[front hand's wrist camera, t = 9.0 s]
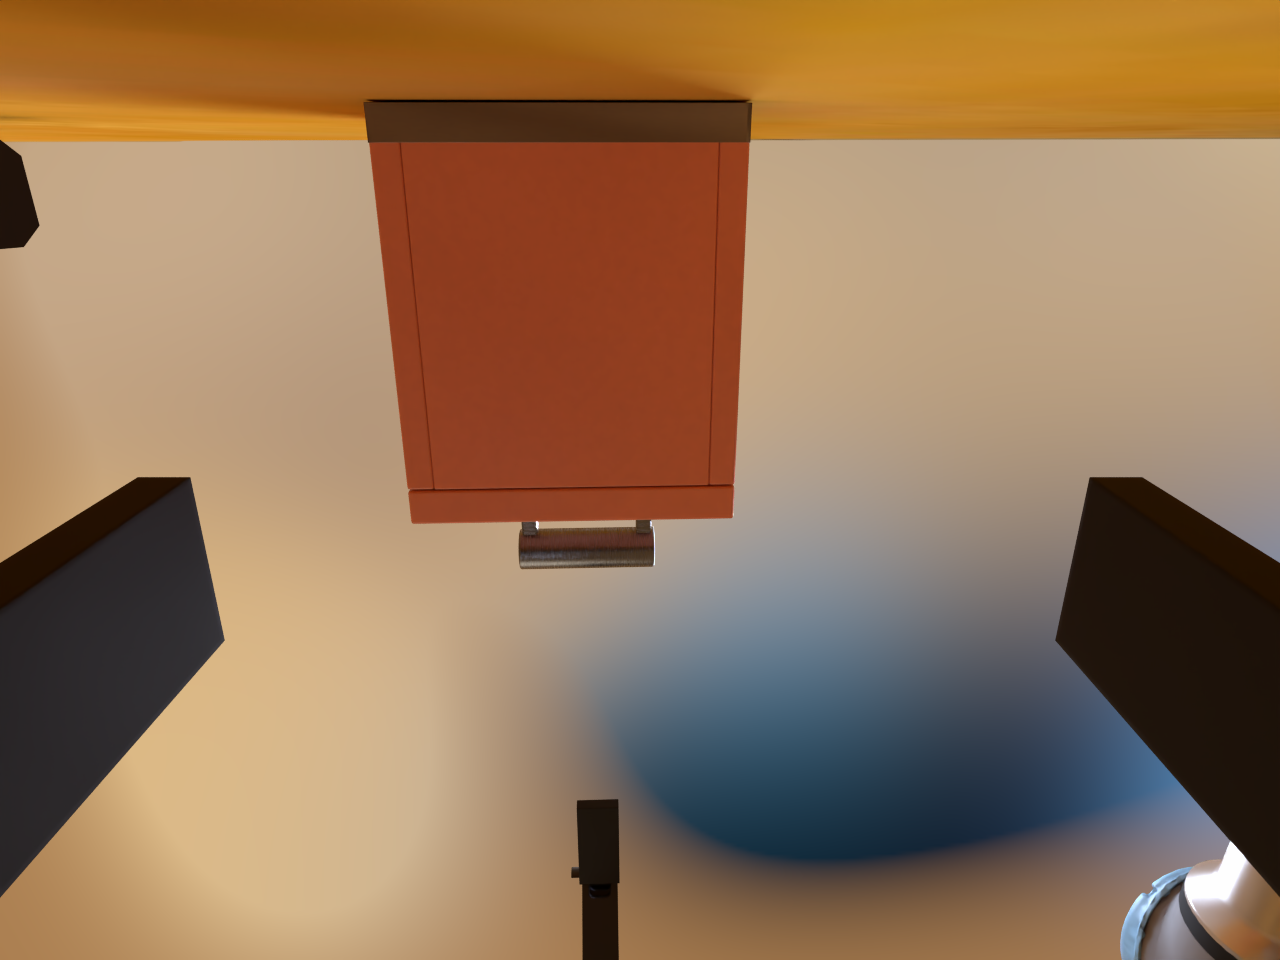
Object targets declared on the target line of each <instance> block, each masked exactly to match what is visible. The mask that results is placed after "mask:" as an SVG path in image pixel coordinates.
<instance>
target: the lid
mask: <svg viewBox="0 0 1280 960" xmlns="http://www.w3.org/2000/svg"><path fill="white" fill-rule="evenodd" d="M408 495H409V503H410V513H411V521H412V523H413V524H427V523H428V524H429V523H485V522H522V529H521V530H520V533H519V564H520V568H521V569H553V568H605V567H653V566H654V562H655V541H654V528H653V527H651V520H655V519H711V518H712V519H713V518H732V517H733V509H734V486H733V484H713V485H711V484H708V485H670V486H608V487H546V488H483V489H435V488H433V489H410V491H409V493H408ZM598 520H636V527H612V528H555V529H538V522H542V521H598Z"/></svg>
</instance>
